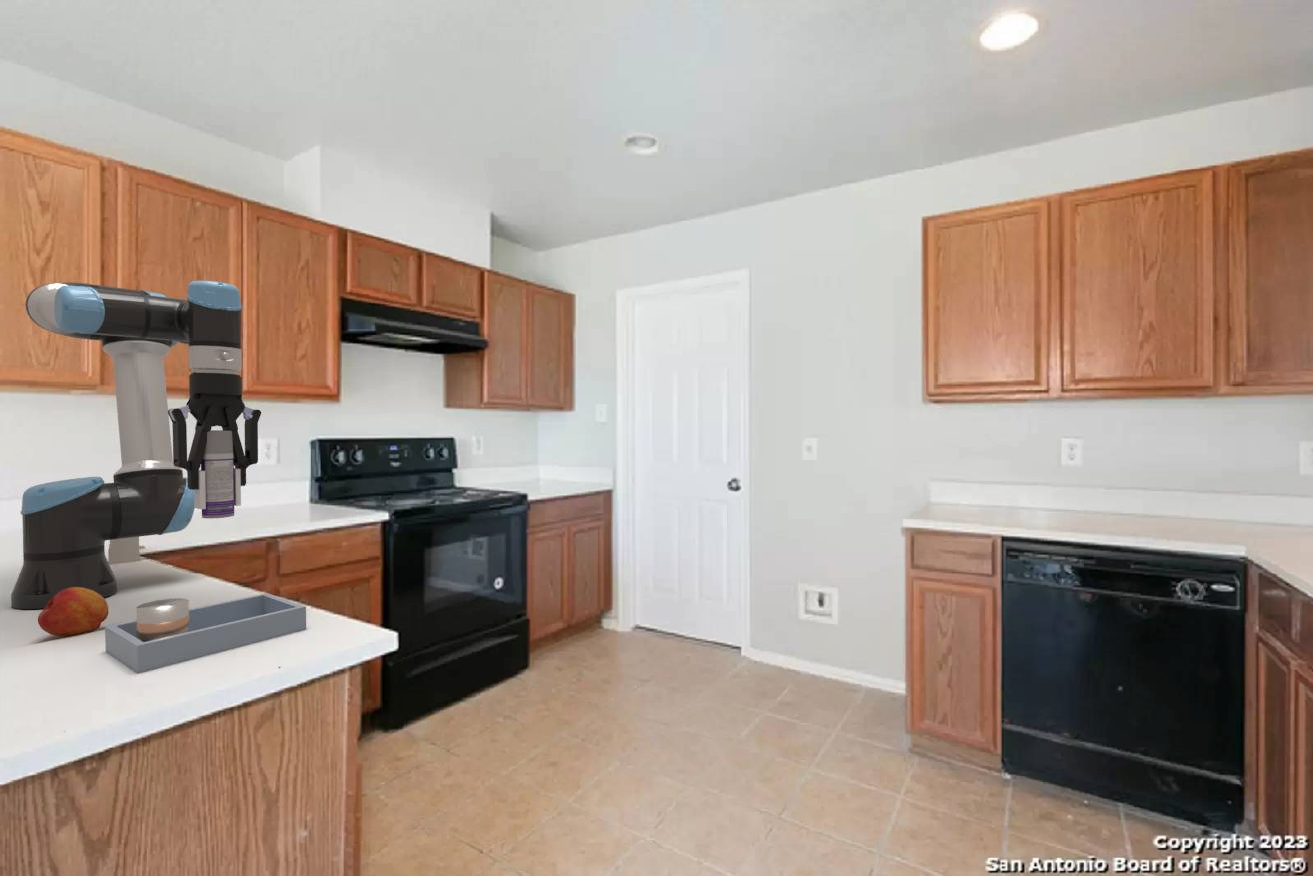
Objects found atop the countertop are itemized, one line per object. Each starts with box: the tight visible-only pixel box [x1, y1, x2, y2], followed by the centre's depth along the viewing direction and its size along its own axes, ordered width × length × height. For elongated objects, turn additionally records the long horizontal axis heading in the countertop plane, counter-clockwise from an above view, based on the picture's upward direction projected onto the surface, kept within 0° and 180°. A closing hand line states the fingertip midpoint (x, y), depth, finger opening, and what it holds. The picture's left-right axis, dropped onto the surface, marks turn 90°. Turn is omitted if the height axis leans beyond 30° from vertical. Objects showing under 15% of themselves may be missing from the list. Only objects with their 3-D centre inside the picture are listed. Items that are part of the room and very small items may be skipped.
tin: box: [136, 597, 190, 642], centre depth 93 cm, size 6×6×7 cm
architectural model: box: [107, 537, 146, 566], centre depth 156 cm, size 3×7×7 cm, turn 135°
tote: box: [104, 592, 307, 674], centre depth 98 cm, size 14×22×4 cm, turn 145°
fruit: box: [37, 587, 109, 638], centre depth 102 cm, size 8×8×8 cm
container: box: [200, 429, 235, 520], centre depth 109 cm, size 5×5×15 cm
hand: (218, 506), depth 110 cm, fingers closed on container, 5 cm apart
